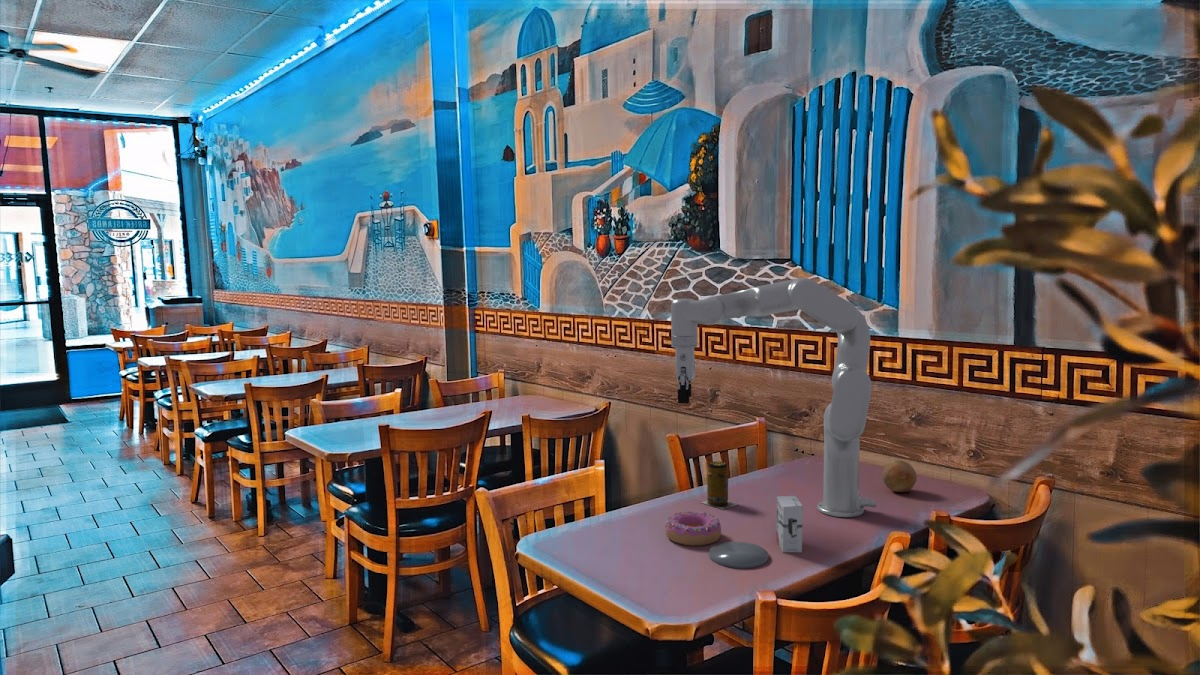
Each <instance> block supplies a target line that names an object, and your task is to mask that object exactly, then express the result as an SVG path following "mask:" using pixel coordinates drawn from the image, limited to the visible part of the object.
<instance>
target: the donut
mask: <svg viewBox="0 0 1200 675" xmlns="http://www.w3.org/2000/svg"><path fill="white" fill-rule="evenodd" d="M664 527H665V529H664V530H665V534H666V536H667V538H668V539H670V540H671V541H673V542H674V543H676V544H681V545H685V546H691V547H693V546H695V547H698V546H699V547H701V546H705V545H711V544H713V543H716V542H718V540H719V539H720V537H721V534H722V527H721V522H720V519H719V518H717V517H716V515H712V514H710V513H706V512H699V511H695V512H693V511H684V512H677V513H674V514H672V515H671V516H668V518H667V519H666V522H665V526H664Z"/></svg>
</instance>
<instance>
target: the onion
mask: <svg viewBox="0 0 1200 675" xmlns="http://www.w3.org/2000/svg"><path fill="white" fill-rule="evenodd" d="M917 479H918V476H917V472H916V470H915V468H914V467H913V466H912V465H911V463H909V462H907V461H905V460H904V459H892V460H890V461H889V462H888V463H887V464H886V465H885V466H884V468H883V470H882V482H883V483H884V485H885V486H886V487H887V488H888V489H889V490H890V491H892V492H894V493H895V492H896V493H907V492H909V491H911V490H912V489H913V487H914V486H915V484H916V483H917V481H918V480H917Z"/></svg>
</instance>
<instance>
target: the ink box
mask: <svg viewBox="0 0 1200 675" xmlns="http://www.w3.org/2000/svg"><path fill="white" fill-rule="evenodd" d="M803 509H804V507H803V504H802V502H800V500H799V498H798V497H797V495H787V496H786V495H784V496H783V495H781V496H779V495H778V496H776V531H775V532H776V534H775V536H776V537H775V538H776V542H777V543H778V545H779V547H780V549H781V552H782V553H802V552H803V512H804V511H803Z"/></svg>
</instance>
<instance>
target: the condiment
mask: <svg viewBox="0 0 1200 675" xmlns="http://www.w3.org/2000/svg"><path fill="white" fill-rule="evenodd" d="M727 467H728V464H727V463H726V462H725V461H711V462H709V463H708V472H707V473H706V474H707V475H706V476H707V477H706V479H707V482H706V485H707V487H706V488H707V491H706V492H707V493H706V495H707V496H706V499H707V500H705V501H701V502H700V504H701V503H702V504H704V505H706V506H710V507H714V508H717V509H720V510H724V509H727V508H728V509H729V508H733V507H734V506H737V505H739V503H737V502H733V501H731V500H729V472H728V468H727Z"/></svg>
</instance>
